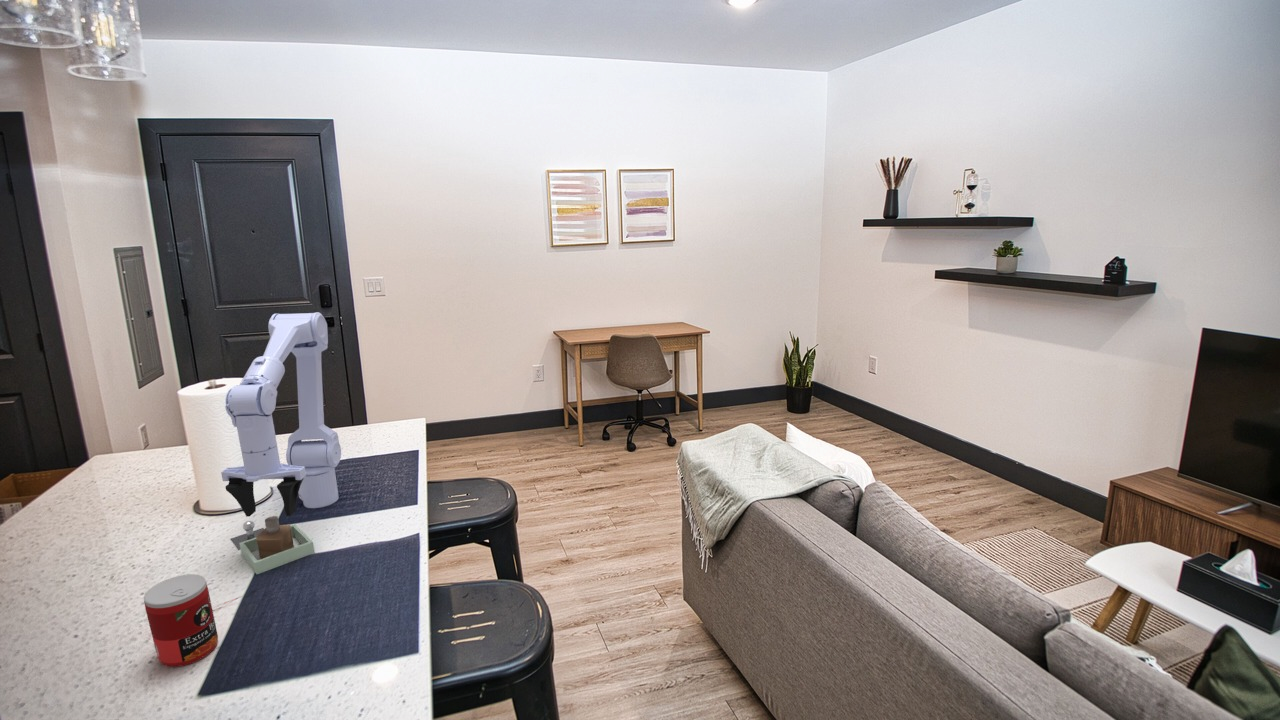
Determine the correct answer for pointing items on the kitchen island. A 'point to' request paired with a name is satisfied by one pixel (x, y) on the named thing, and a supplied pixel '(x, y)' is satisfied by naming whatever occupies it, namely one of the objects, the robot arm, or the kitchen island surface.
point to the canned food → (181, 619)
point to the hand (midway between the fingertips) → (271, 513)
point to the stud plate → (249, 534)
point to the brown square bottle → (274, 538)
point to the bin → (280, 557)
